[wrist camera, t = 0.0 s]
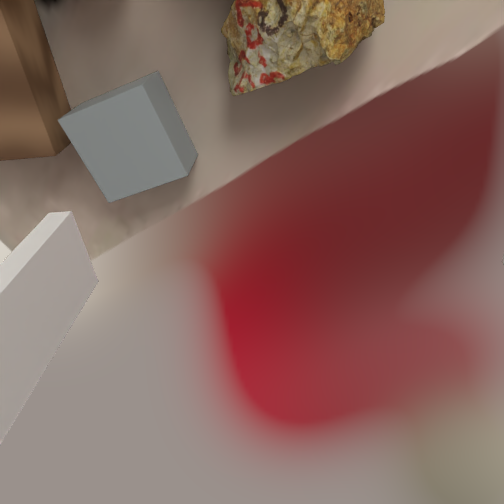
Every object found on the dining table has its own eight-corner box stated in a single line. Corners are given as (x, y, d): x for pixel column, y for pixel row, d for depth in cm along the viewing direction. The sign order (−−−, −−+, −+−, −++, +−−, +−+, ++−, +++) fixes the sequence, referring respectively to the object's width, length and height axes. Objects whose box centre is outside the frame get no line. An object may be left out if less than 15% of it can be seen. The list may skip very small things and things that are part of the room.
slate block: (81, 102, 41) (57, 120, 37) (158, 70, 39) (142, 84, 34) (126, 179, 45) (108, 203, 41) (198, 153, 43) (187, 175, 38)
